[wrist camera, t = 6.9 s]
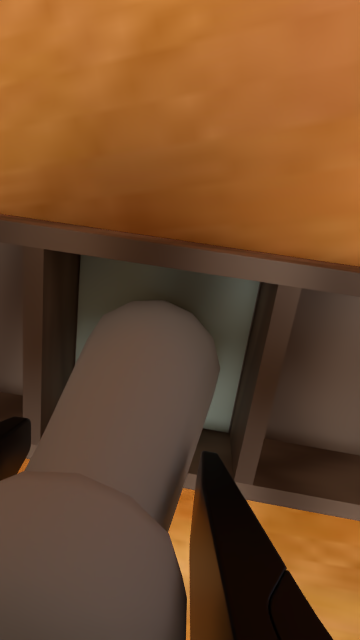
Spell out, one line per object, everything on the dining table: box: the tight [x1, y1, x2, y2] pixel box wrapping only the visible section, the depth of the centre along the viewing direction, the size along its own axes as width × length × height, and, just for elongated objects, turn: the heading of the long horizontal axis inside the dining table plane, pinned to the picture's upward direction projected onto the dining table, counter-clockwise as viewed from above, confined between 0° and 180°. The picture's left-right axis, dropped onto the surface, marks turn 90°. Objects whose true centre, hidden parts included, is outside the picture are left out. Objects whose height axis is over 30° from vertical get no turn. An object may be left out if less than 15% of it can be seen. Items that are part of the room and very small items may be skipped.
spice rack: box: [0, 214, 360, 521], centre depth 15 cm, size 29×10×4 cm, turn 82°
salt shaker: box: [0, 300, 220, 640], centre depth 10 cm, size 6×6×13 cm
